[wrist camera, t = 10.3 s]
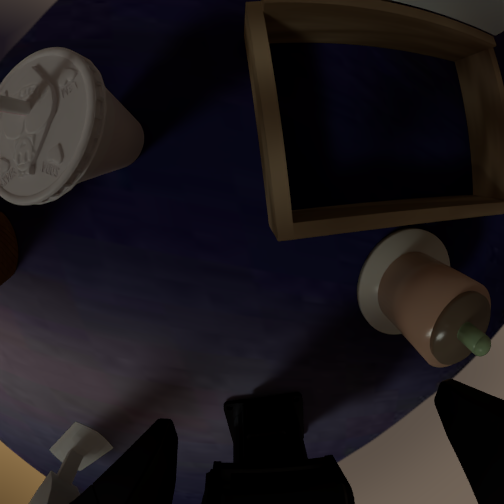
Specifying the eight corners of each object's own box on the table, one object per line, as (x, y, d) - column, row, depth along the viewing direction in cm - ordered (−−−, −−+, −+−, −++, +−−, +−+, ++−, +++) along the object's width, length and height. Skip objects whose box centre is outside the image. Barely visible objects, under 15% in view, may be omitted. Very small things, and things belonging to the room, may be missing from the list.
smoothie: (165, 89, 16) (46, -32, 3) (164, 186, 18) (11, 223, 4) (79, 104, 16) (-77, 57, 3) (79, 193, 18) (-91, 237, 4)
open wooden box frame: (478, 203, 19) (591, 235, 8) (269, 225, 19) (315, 306, 7) (450, 30, 15) (542, -13, 4) (239, 7, 15) (243, -120, 3)
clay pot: (433, 313, 21) (503, 374, 12) (375, 327, 21) (437, 406, 12) (440, 247, 19) (528, 290, 10) (378, 256, 19) (462, 315, 10)
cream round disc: (440, 318, 22) (444, 321, 21) (355, 340, 22) (358, 344, 21) (448, 222, 19) (453, 224, 19) (355, 234, 19) (358, 236, 19)
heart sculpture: (75, 473, 26) (40, 567, 9) (46, 453, 25) (2, 544, 8) (121, 442, 24) (78, 582, 7) (81, 415, 23) (18, 551, 6)
